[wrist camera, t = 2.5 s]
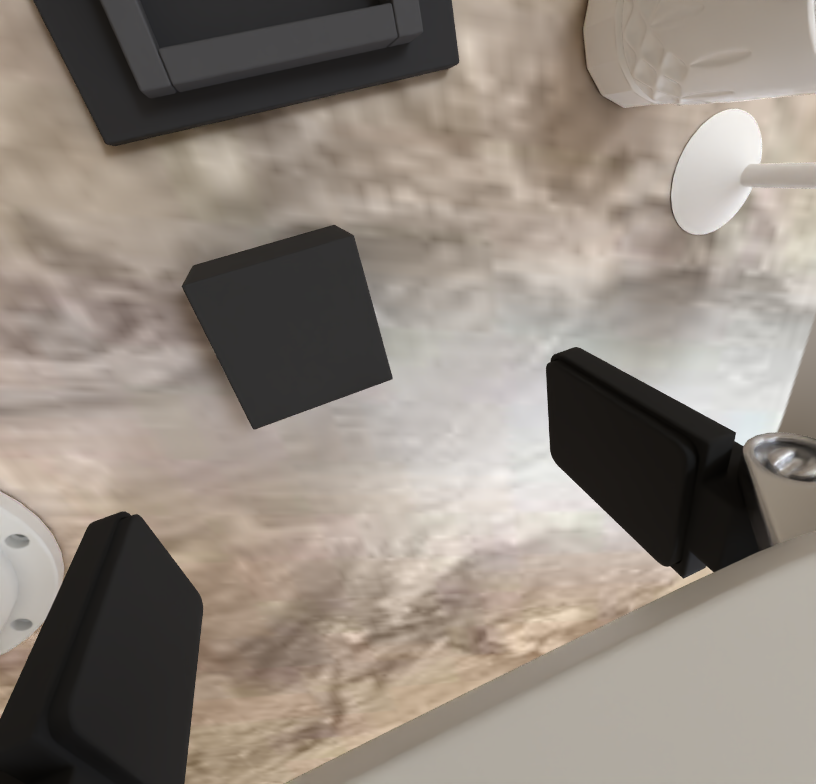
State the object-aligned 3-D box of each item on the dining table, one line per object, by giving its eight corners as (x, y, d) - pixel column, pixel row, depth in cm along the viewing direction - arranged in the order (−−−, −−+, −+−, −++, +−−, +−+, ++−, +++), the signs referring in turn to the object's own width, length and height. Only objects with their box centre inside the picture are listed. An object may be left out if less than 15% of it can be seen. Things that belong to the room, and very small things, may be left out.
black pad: (251, 391, 22) (253, 430, 19) (192, 265, 19) (181, 285, 15) (371, 349, 23) (393, 379, 20) (335, 224, 20) (353, 234, 16)
